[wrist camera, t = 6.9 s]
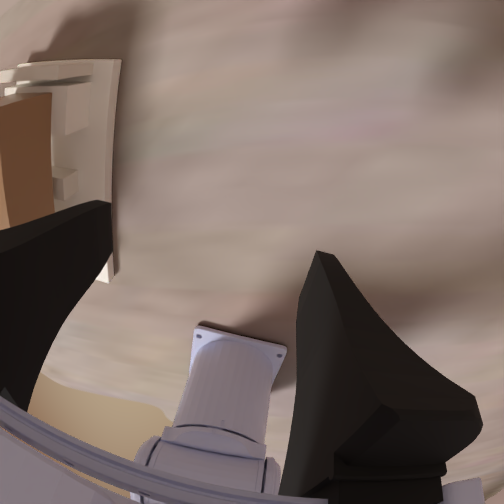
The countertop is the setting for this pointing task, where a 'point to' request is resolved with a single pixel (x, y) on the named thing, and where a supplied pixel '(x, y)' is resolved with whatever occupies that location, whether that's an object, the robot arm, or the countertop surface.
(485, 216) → the countertop surface
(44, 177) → the tan wooden plank
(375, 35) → the countertop surface
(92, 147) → the display stand
